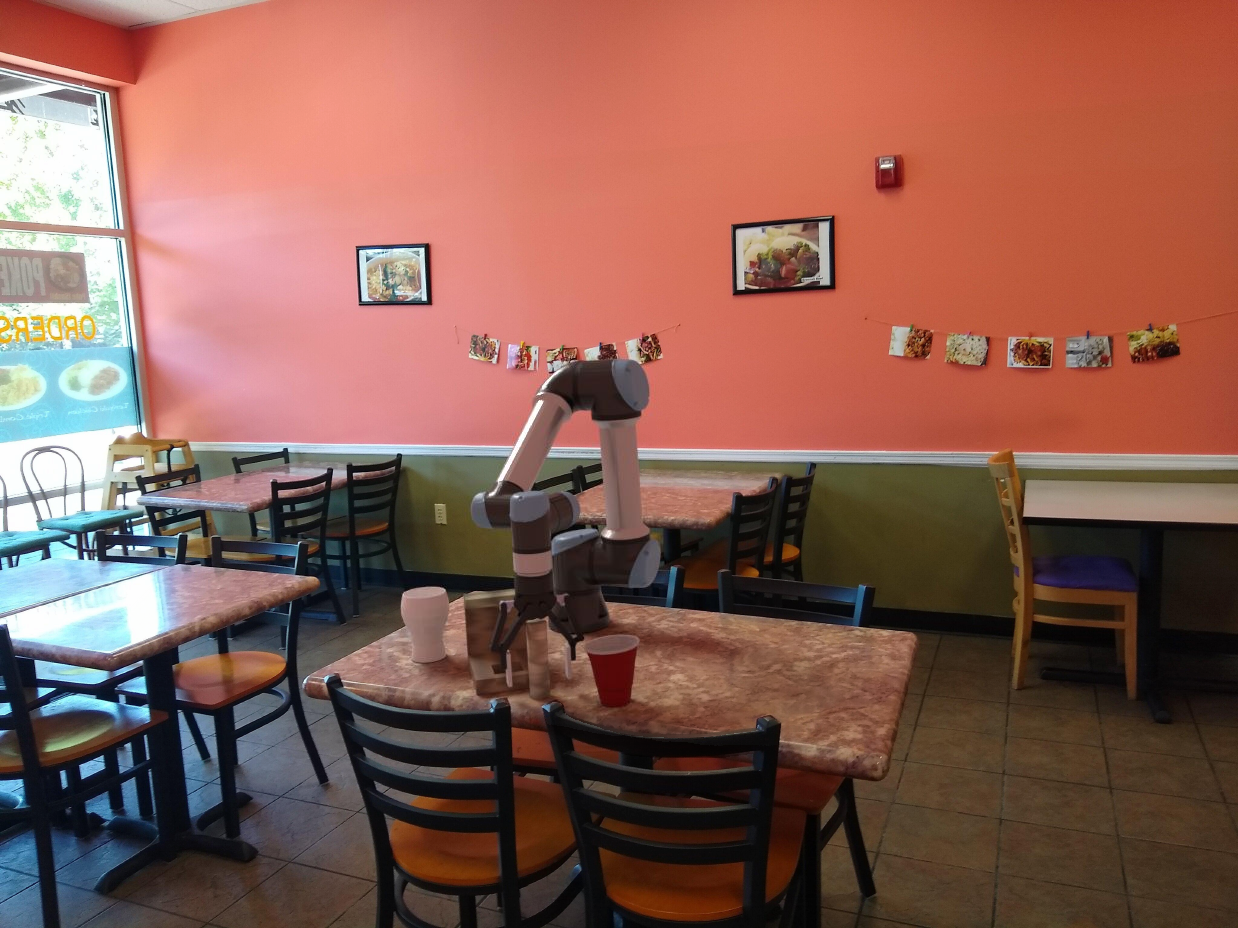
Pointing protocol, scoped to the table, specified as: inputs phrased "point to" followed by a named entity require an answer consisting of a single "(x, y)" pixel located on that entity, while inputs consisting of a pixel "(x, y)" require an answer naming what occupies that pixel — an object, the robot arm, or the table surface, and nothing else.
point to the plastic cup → (613, 667)
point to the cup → (426, 622)
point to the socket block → (479, 633)
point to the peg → (538, 659)
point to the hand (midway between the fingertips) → (539, 680)
